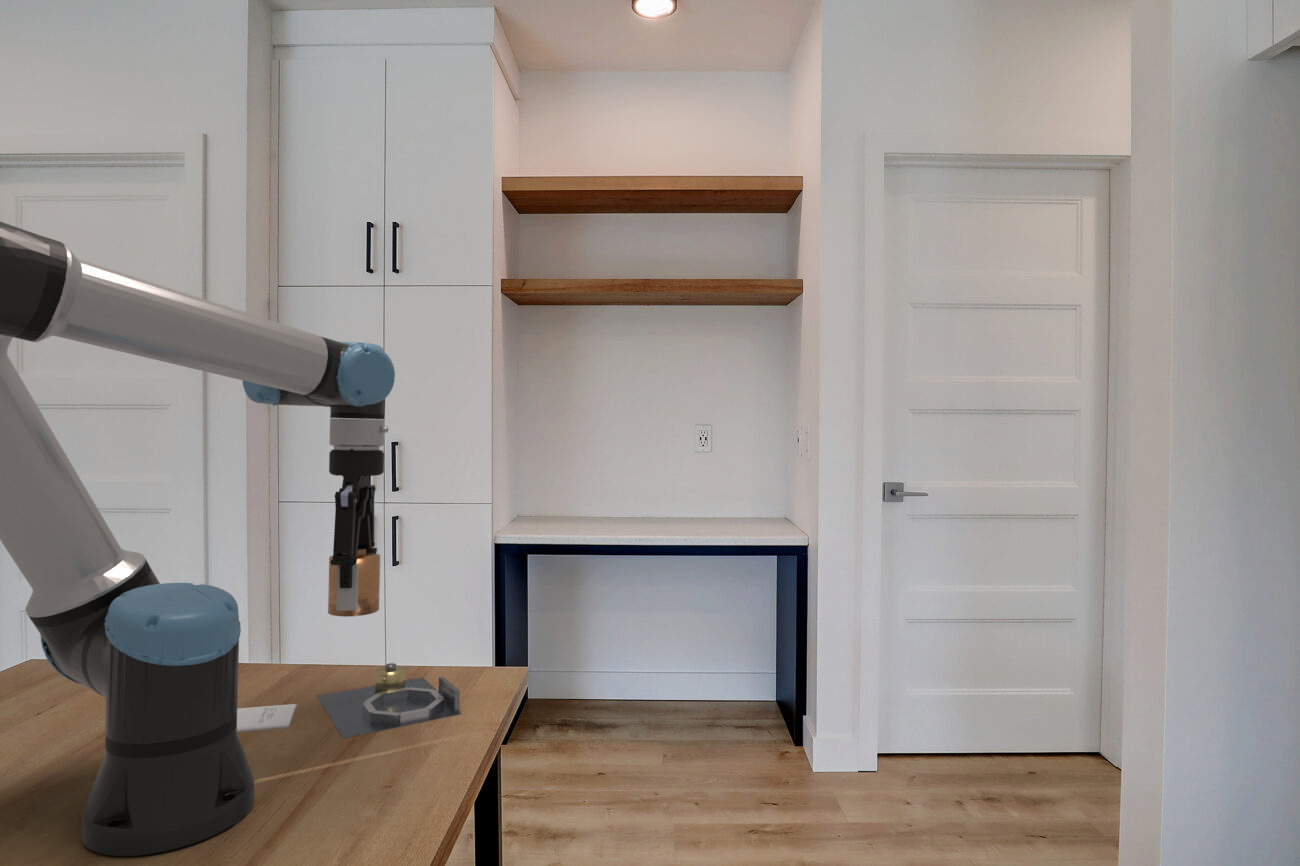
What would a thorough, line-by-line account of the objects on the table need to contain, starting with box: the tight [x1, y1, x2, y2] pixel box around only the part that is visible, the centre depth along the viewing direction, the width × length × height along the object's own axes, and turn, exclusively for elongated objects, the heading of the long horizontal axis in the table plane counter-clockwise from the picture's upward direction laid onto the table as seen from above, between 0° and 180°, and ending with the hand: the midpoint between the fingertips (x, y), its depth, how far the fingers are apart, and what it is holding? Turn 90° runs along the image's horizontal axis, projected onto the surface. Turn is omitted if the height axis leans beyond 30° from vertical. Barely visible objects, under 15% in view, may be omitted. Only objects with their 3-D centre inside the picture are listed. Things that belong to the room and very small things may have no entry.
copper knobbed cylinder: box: [327, 548, 381, 618], centre depth 110 cm, size 7×7×9 cm
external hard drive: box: [237, 703, 298, 733], centre depth 102 cm, size 2×8×12 cm
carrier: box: [316, 662, 463, 739], centre depth 109 cm, size 18×16×4 cm
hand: (353, 603), depth 110 cm, fingers closed on copper knobbed cylinder, 7 cm apart
